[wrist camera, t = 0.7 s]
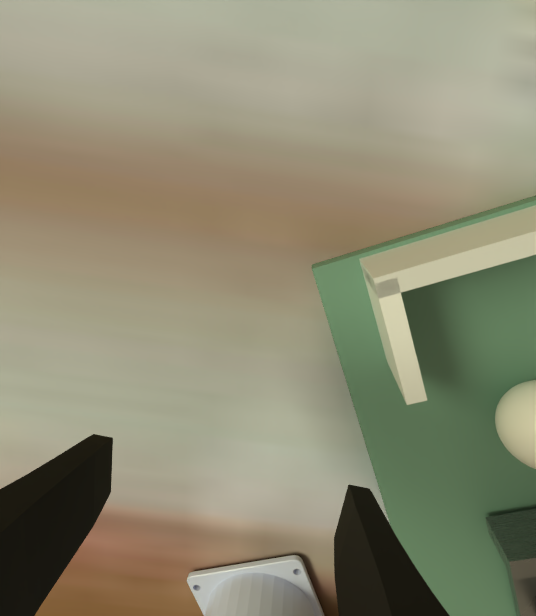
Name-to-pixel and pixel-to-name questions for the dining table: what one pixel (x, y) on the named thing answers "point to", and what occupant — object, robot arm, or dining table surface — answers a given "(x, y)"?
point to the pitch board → (443, 412)
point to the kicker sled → (517, 555)
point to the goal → (437, 280)
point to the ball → (518, 422)
